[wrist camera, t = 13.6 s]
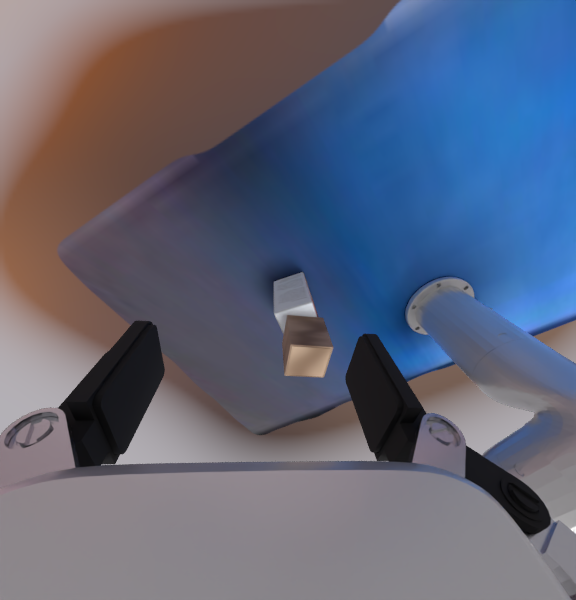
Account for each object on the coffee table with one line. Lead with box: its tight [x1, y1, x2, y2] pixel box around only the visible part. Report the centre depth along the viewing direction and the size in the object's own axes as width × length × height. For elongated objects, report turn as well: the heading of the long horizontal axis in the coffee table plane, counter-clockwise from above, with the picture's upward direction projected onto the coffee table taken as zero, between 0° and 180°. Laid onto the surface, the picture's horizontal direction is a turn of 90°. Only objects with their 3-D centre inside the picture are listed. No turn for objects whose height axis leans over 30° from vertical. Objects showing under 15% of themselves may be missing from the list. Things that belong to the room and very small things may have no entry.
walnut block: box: [282, 315, 333, 377], centre depth 30 cm, size 5×5×6 cm
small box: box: [274, 272, 318, 334], centre depth 38 cm, size 8×6×10 cm
